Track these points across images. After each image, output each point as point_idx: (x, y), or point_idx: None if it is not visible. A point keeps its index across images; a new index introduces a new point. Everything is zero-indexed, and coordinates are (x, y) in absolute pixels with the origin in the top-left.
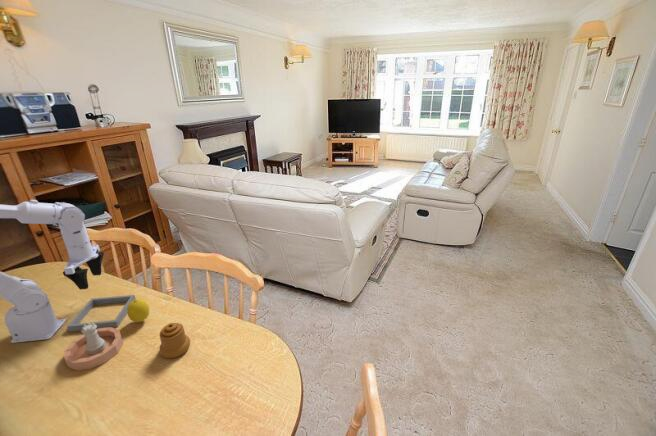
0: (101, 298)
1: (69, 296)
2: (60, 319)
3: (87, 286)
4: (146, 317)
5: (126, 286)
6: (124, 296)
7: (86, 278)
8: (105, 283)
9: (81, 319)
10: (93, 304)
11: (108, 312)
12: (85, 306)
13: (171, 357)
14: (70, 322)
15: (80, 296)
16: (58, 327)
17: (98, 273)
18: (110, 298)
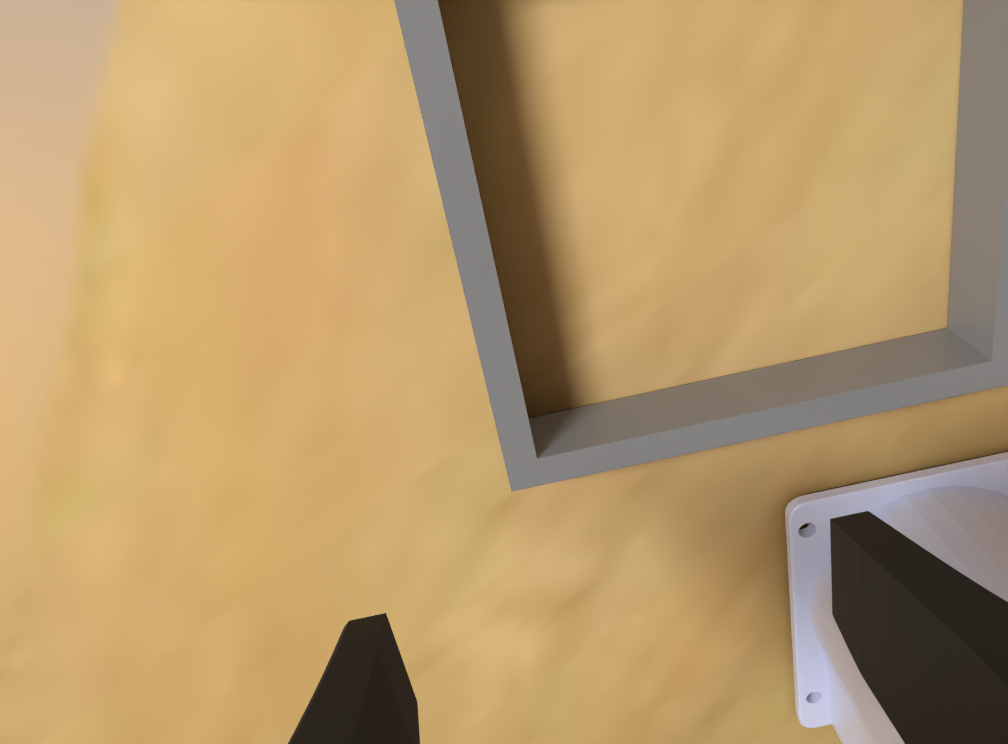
0: (505, 378)
1: None
2: (795, 548)
3: (887, 529)
4: None
5: (97, 300)
6: (437, 74)
7: (997, 653)
8: (111, 587)
9: (801, 363)
10: (547, 423)
11: (676, 149)
12: (672, 446)
13: None
14: (956, 394)
15: None
16: (921, 478)
17: (390, 660)
18: (494, 263)
